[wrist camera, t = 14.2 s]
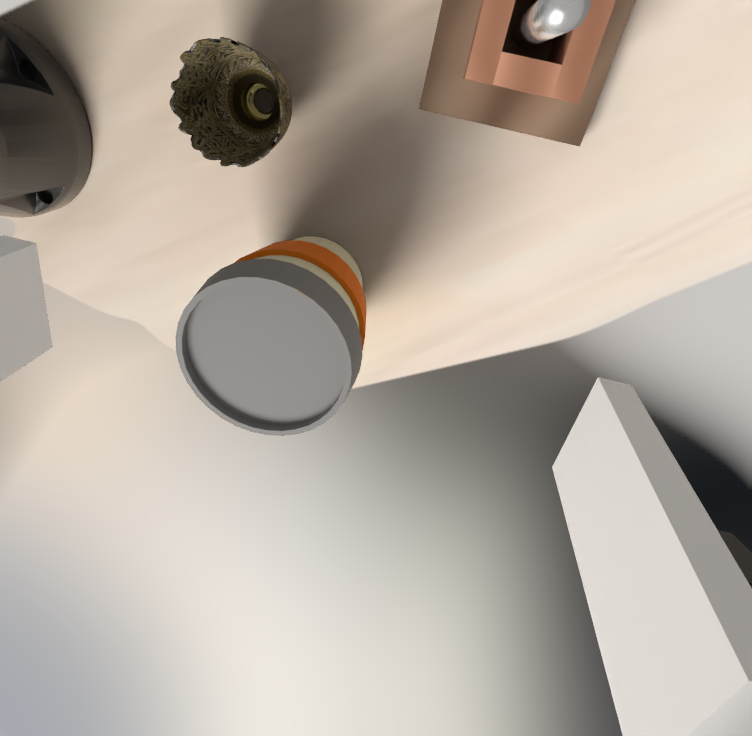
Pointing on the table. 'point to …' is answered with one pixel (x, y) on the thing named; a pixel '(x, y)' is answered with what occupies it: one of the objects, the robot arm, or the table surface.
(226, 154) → the cup
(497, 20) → the brown open box
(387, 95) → the table surface
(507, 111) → the brown square board
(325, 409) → the reusable coffee cup
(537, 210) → the table surface
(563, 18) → the silver metal rod
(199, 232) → the table surface
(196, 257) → the table surface
